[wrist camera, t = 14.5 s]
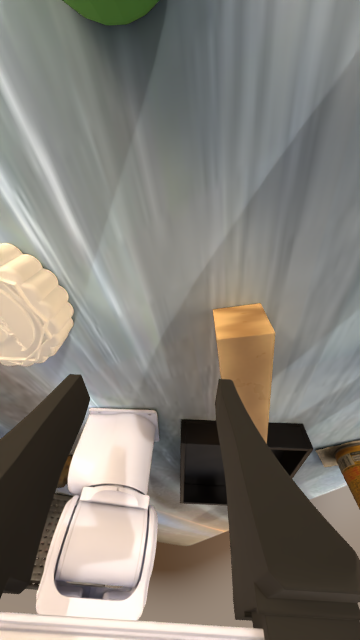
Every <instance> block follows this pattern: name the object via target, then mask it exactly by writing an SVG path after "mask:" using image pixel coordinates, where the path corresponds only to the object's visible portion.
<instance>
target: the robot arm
mask: <svg viewBox="0 0 360 640" xmlns="http://www.w3.org/2000/svg"><path fill="white" fill-rule="evenodd" d="M89 401H90V397H89V394H88V392H87V389H86V386H85V384H84V381H83V378H82V376H81V375H74V374H70V375H69V376H67V377H66V378H65V379H64V380H63V381H62V382H61V383H60V384H59V385H58V386H57V387H56V388H55V389H54V390H53V391H52V392H51V393H50V394H49V395H48V396H47V397H46V398H45V399H44V400H43V401H42V402H41V403H40V404H39V405H38V406H37V407H36V408H35V409H34V410H33V411H32V412H31V413H30V414H29V415H28V416H26V417H25V418H24V419H23V420H22V421H21V422H20V423H19V424H18V425H16V426H15V427H14V428H13V429H12V430H11V431H10V432H8V433H7V434H6V435H5V436H4V437H2V438H1V439H0V598H1V595H2V593H11V594H20V593H21V592H22V591H23V590H24V589H26V587H27V586H28V585H29V584H30V581H31V576H32V572H33V568H34V564H35V560H36V556H37V553H38V549H39V545H40V541H41V538H42V534H43V530H44V527H45V523H46V520H47V516H48V513H49V510H50V507H51V503H52V500H53V497H54V494H55V491H56V488H57V485H58V482H59V479H60V476H61V473H62V470H63V467H64V465H65V462H66V460H67V458H68V455H69V453H70V451H71V449H72V446H73V444H74V442H75V439H76V437H77V435H78V432H79V430H80V428H81V425H82V423H83V420H84V418H85V415H86V412H87V408H88V405H89ZM215 406H216V422H217V429H218V435H219V441H220V447H221V454H222V460H223V466H224V472H225V480H226V493H227V505H228V519H229V533H230V547H231V564H232V582H233V602H234V612H235V619H236V620H252V621H253V628H241V627H226V626H211V625H196V624H180V623H164V622H149V621H137V620H138V619H139V618H140V616H141V615H142V612H143V608H144V606H145V605H146V599H147V592H148V585H149V579H150V576H151V573H152V568H153V563H154V557H155V551H156V542H157V528H158V519H157V513H156V511H155V510H154V507H153V506H152V505H149V497H150V496H148V495H147V490H148V482H149V475H150V467H151V459H152V452H153V444H154V442H158V441H159V439H160V437H159V427H158V417H157V412H156V411H155V410H133V409H106V408H90V409H89V414H90V415H89V417H88V420H87V422H86V425H85V427H84V430H83V432H82V435H81V437H80V440H79V443H78V445H77V448H76V450H75V453H74V455H73V458H72V461H71V464H70V468H69V474H68V489H69V491H70V493H71V494H74V495H75V496H74V497H73V498H72V499H70V500H69V501H68V502H67V504H66V505H65V507H64V510H63V512H62V514H61V517H60V519H59V522H58V524H57V527H56V530H55V533H54V535H53V538H52V541H51V545H50V548H49V551H48V554H47V558H46V562H45V567H44V573H43V576H42V579H41V582H40V585H39V588H38V592H37V595H36V598H37V603H36V611H37V614H27V613H12V612H0V640H360V621H359V620H360V609H359V607H358V604H357V603H358V602H360V560H359V558H358V556H357V554H356V552H355V551H354V550H353V548H352V547H351V546H350V545H349V544H348V543H347V542H346V541H345V540H344V539H343V538H342V537H341V536H340V534H339V533H338V532H337V531H336V530H335V529H334V528H333V527H332V526H331V525H330V524H329V522H327V520H326V519H325V518H324V517H323V516H322V514H321V513H320V512H319V511H318V510H317V509H316V508H315V507H314V505H313V504H312V503H311V502H310V501H309V499H308V498H307V497H306V496H305V494H304V493H303V492H302V491H301V489H300V488H299V487H298V486H297V485H296V483H295V482H294V481H293V480H292V478H291V477H290V476H289V474H288V473H287V472H286V470H285V469H284V468H283V466H282V465H281V464H280V462H279V461H278V460H277V458H276V457H275V455H274V454H273V453H272V451H271V450H270V448H269V447H268V445H267V444H266V442H265V441H264V439H263V437H262V436H261V434H260V433H259V431H258V429H257V428H256V426H255V424H254V423H253V421H252V419H251V417H250V416H249V414H248V412H247V410H246V408H245V406H244V404H243V403H242V401H241V399H240V396H239V394H238V392H237V390H236V388H235V385H234V383H233V381H232V380H231V379H219V383H218V389H217V395H216V402H215ZM79 495H81V496H79ZM66 581H70V582H81V583H92V584H103V585H115V586H124V587H121V588H106V587H95V586H84V585H73V584H70V583H68V582H66Z"/></svg>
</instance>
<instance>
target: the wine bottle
mask: <svg viewBox="0 0 360 640" xmlns="http://www.w3.org/2000/svg"><path fill="white" fill-rule="evenodd" d="M62 1H64V2H65V3H66V4H68V5H69V6H70V7H72V8H73V9H74V10H76V11H77V12H78V13H79V14H81V15H82V16H83V17H85V18H87V19H90V20H93V21H96V22H99V23H101V24H104V25H124V24H129V23H131V22H133V21H135V20H137V19H139V18H141V17H143V16H145V15H146V14H147V13H148V12H149V11H150V10H151V9H152V8H153V7H154V6H155V5H156V3H157V2H158V1H159V0H62Z"/></svg>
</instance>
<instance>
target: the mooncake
mask: <svg viewBox="0 0 360 640" xmlns="http://www.w3.org/2000/svg"><path fill="white" fill-rule="evenodd" d="M68 298H69V296H68V293H67V291H66V290H65V289H64V288H63V287H61V286H59V285H58V279H57V277H56V276H55V275H54V274H53V273H52V272H51V271H49V270H47V269H43V267H42V265H41V263H40V262H39V260H38V259H36V258H35V257H33V256H31V255H27V254H22V252H21V251H20V250H19V249H18V248H17V247H15V246H14V245H11V244H8V243H3V244H0V363H1V364H3V365H6V366H15V365H20V366H25V367H26V366H31V365H33V364H34V363H43V362H45V361H46V360H47V359H48V357H50V356H53V355H54V354H56V352H57V351H58V349H59V348H60V346H61V345H62V344H63V342H64V341H65V339H66V338H67V336H68V332H69V331H70V330H71V328H72V327H73V320H72V318H71V316H72V315H73V312H74V310H73V307H72V305H71V304H70V303H69V302H67V301H68Z"/></svg>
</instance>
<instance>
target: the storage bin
mask: <svg viewBox="0 0 360 640" xmlns="http://www.w3.org/2000/svg"><path fill="white" fill-rule="evenodd" d="M72 498H73V497H70V496H64V495H58V494H54V497H53V500H52V503H51V507H50V510H49V513H48V516H47V520H46V523H45V527H44V530H43V534H42V538H41V541H40V545H39V549H38V553H37V556H36V557H37V558H38V559H36V560H35V564H34V568H33V572H32V576H31V581H30V584H29V585H28V586H27V587H26V589H35V590H38V588H39V585H38V584H40V582H41V579H42V576H43V573H44V567H45V562H46V558H47V554H48V551H49V548H50V545H51V541H52V538H53V535H54V533H55V530H56V527H57V524H58V522H59V519H60V517H61V514H62V512H63V510H64V507H65V505H66V504H67V502H68V501H69V500H70V499H72ZM47 530H49V531H47ZM44 536H46V537H44ZM43 558H44V559H43ZM42 559H43V560H42ZM40 565H41V566H40ZM66 582H68V583H70V584H73V585H84V586H95V587H105V585H103V584H92V583H81V582H70V581H66ZM32 583H35V584H32Z"/></svg>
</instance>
